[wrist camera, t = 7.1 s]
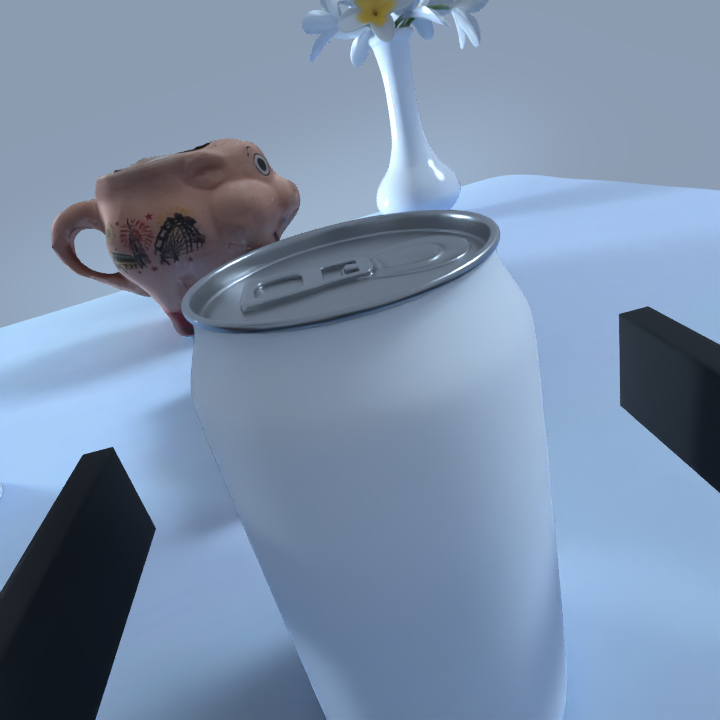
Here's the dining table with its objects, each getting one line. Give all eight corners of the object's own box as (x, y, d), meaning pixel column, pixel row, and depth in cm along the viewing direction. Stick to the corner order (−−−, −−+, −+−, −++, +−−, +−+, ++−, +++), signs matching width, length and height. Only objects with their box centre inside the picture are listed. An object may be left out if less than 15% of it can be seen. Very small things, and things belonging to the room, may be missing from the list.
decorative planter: (79, 385, 40) (-20, 200, 34) (117, 328, 51) (48, 181, 45) (334, 313, 42) (282, 122, 35) (318, 273, 52) (277, 122, 46)
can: (623, 775, 12) (613, 252, 7) (338, 856, 12) (101, 386, 6) (511, 556, 18) (459, 187, 12) (320, 608, 18) (188, 257, 12)
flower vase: (529, 203, 58) (505, -81, 47) (379, 256, 53) (313, -48, 42) (462, 196, 69) (430, -35, 58) (333, 238, 64) (272, -5, 53)
